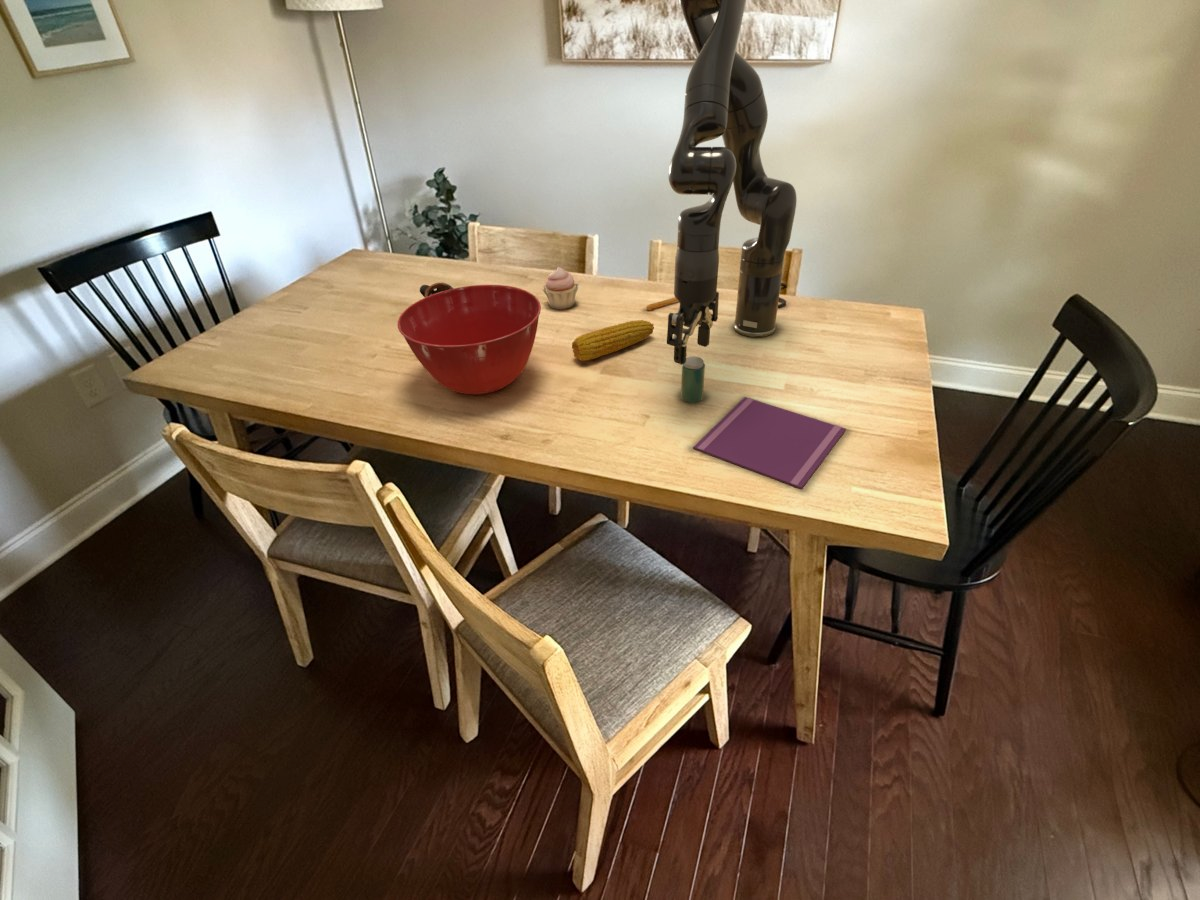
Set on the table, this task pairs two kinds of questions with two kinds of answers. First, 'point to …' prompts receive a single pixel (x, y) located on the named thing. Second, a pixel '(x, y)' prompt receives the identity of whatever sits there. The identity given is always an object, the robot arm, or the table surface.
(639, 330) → the food
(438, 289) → the pottery mug
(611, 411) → the table surface
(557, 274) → the cupcake
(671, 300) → the fork
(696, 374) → the salt shaker
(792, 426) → the napkin
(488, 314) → the mixing bowl
